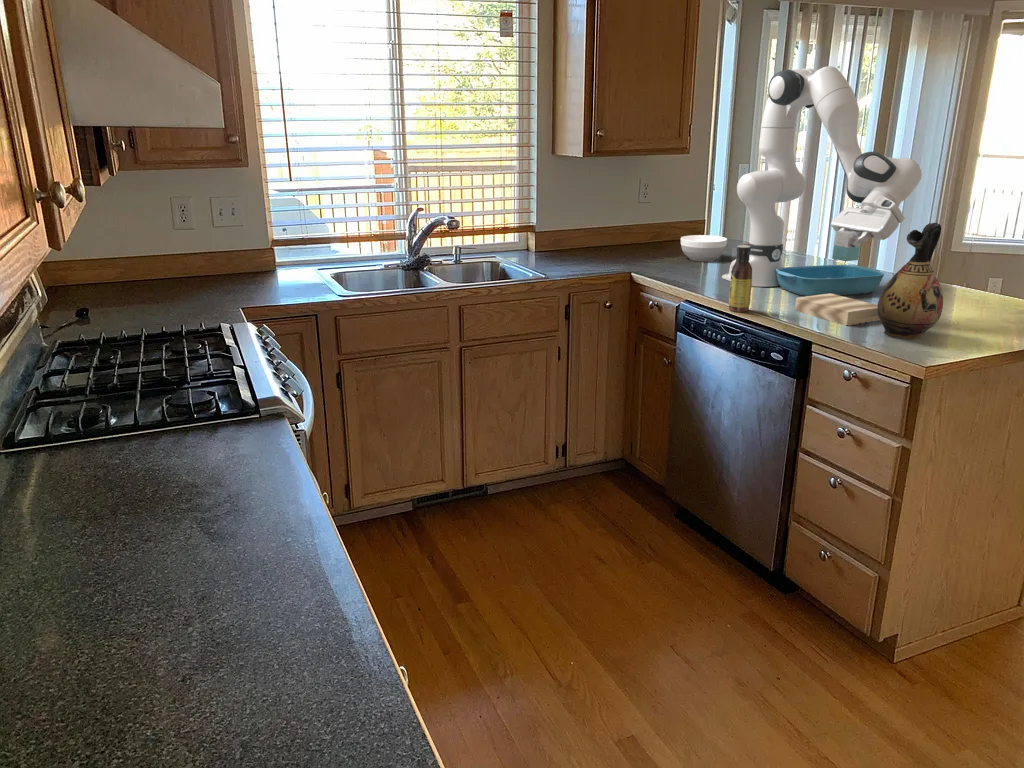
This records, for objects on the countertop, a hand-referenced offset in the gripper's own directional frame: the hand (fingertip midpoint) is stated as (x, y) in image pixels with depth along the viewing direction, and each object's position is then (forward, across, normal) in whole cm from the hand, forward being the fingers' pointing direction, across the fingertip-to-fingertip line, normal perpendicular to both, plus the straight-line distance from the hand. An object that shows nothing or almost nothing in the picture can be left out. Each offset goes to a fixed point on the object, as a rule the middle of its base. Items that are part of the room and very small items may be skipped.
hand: (845, 244), depth 218 cm
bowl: (+4, -97, +26) cm, 100 cm away
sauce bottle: (+31, -16, -1) cm, 35 cm away
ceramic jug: (+13, +24, +17) cm, 32 cm away
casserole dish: (0, -29, +31) cm, 43 cm away
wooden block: (+14, 0, +15) cm, 21 cm away
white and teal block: (+3, 0, +4) cm, 4 cm away
